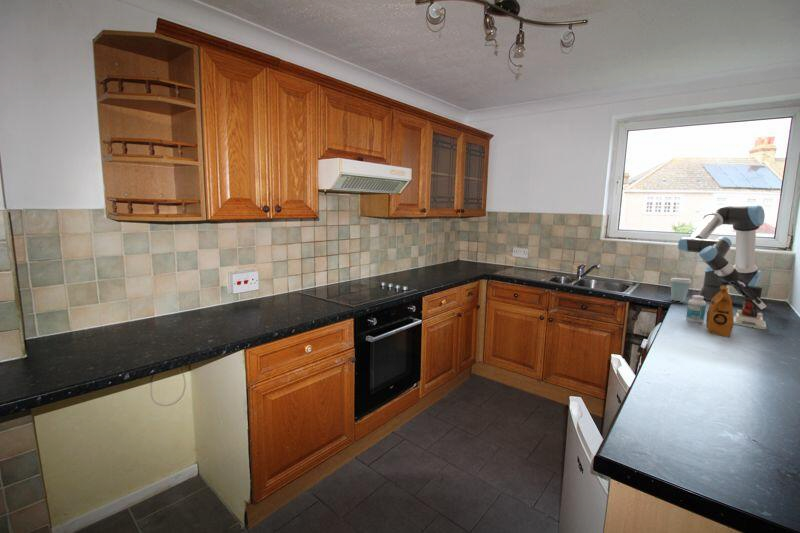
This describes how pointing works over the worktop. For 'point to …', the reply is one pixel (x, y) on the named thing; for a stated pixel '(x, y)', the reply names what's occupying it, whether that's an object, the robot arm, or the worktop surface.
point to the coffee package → (720, 314)
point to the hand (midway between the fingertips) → (759, 306)
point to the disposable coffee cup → (679, 288)
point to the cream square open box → (749, 320)
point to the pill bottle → (696, 309)
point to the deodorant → (751, 303)
